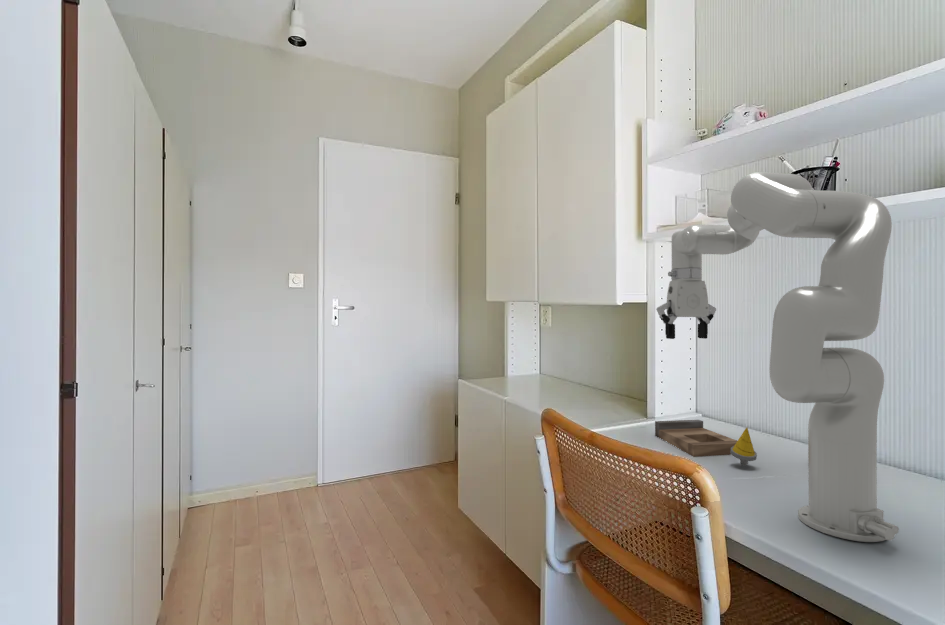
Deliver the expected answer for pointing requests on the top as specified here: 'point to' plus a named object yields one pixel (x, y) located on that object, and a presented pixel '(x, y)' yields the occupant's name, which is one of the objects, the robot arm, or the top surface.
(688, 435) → the jig
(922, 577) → the top surface
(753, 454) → the drill bit
